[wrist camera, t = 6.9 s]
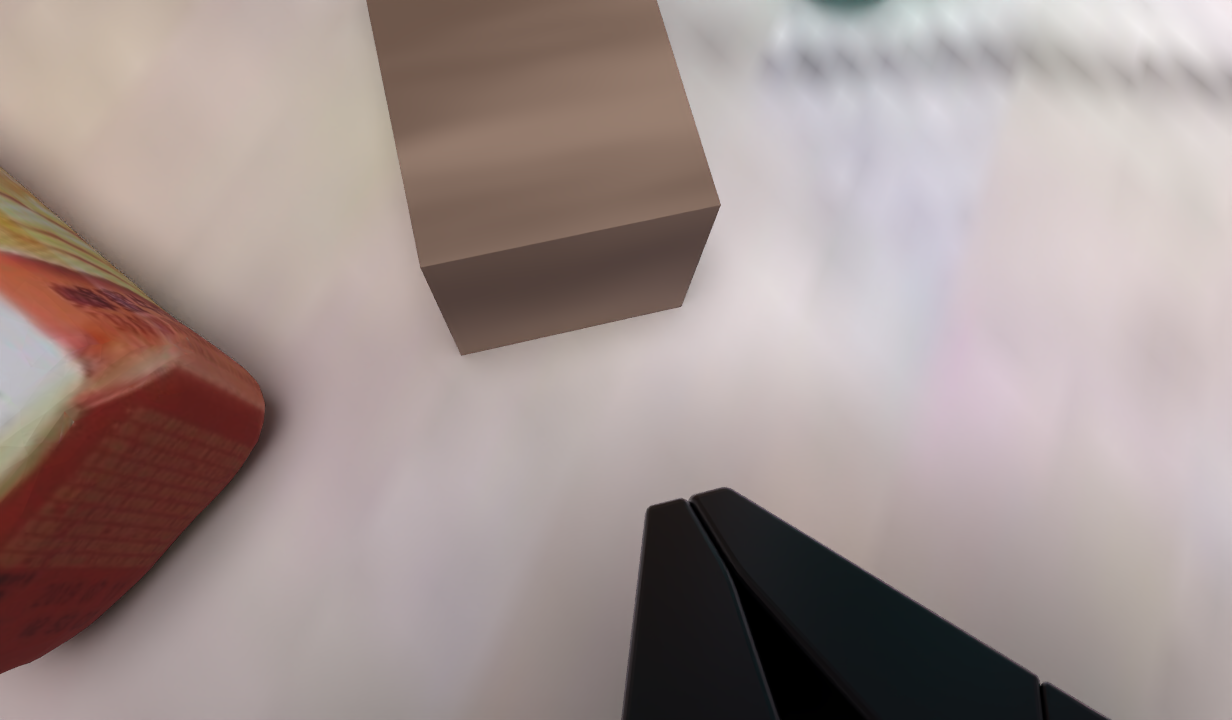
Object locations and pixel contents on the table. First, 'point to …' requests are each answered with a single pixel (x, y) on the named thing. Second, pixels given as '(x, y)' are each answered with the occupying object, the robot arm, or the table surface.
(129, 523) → the snack package
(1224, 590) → the table surface
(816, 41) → the table surface
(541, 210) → the walnut block
